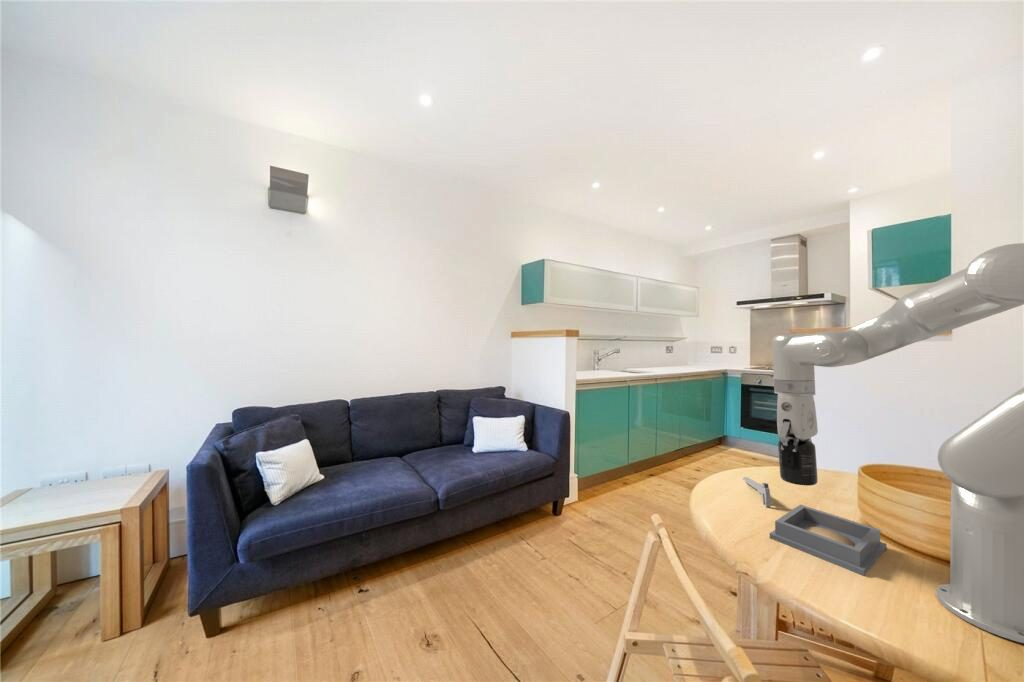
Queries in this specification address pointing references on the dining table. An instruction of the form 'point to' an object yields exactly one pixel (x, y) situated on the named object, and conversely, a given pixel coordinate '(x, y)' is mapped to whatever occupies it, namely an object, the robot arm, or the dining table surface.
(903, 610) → the dining table surface
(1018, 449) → the robot arm
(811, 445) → the supplement bottle
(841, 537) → the housing
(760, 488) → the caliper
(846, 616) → the dining table surface
